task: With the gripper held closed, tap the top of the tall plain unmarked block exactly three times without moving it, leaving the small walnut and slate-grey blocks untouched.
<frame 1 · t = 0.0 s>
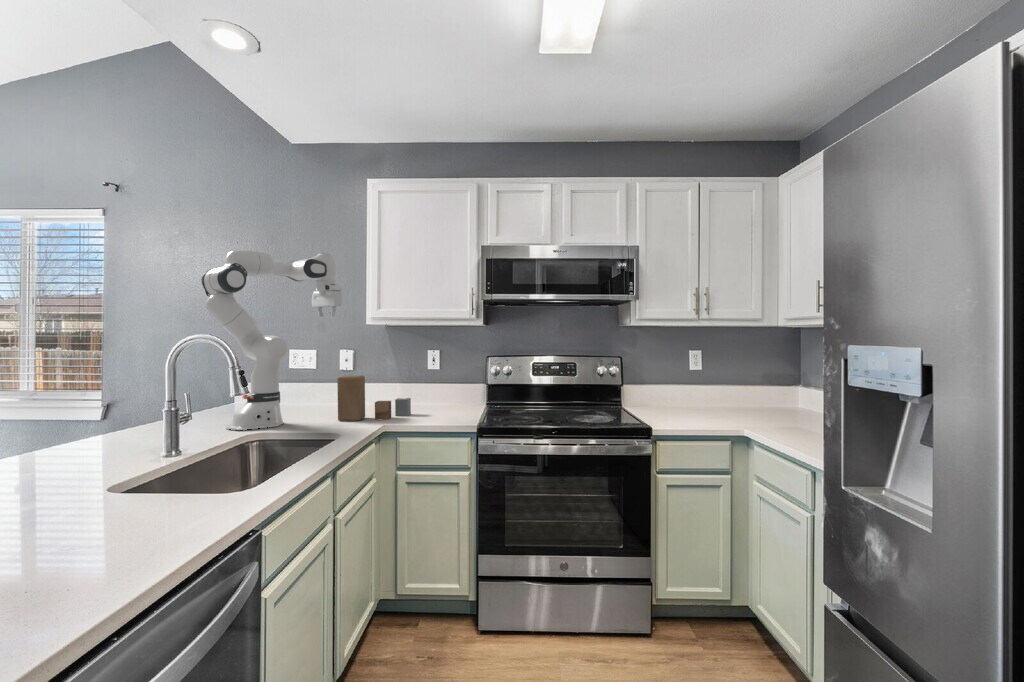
hand: (326, 316, 250), 48 cm above the worktop, fingers open, 8 cm apart
block: (351, 419, 238), on the worktop
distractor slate: (403, 415, 250), on the worktop
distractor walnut: (383, 418, 240), on the worktop
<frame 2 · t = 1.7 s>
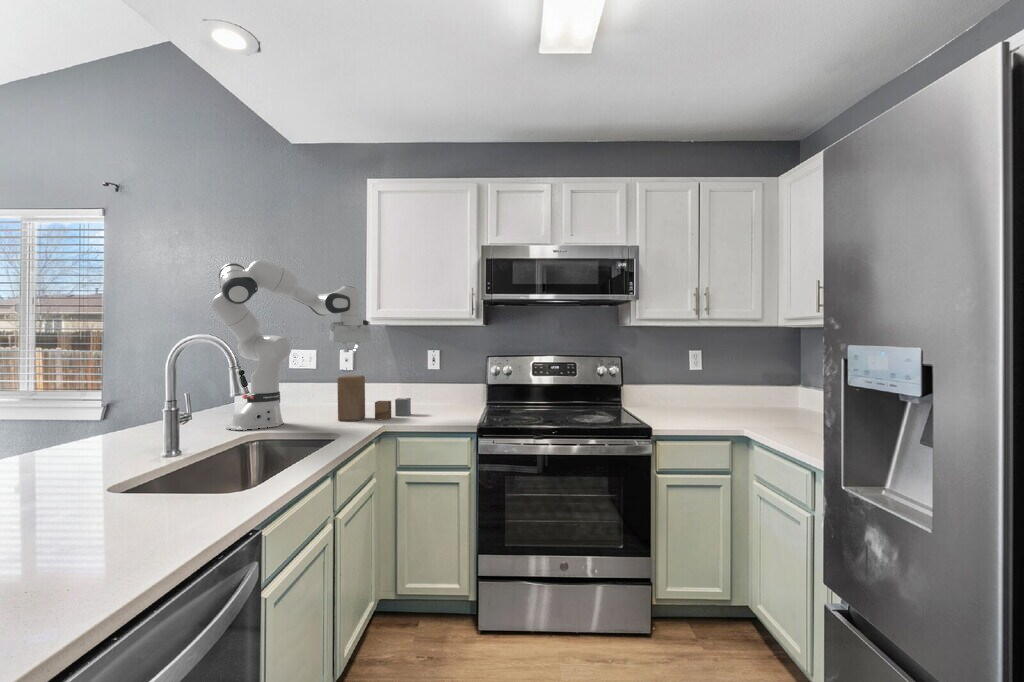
hand: (350, 352, 238), 31 cm above the worktop, fingers open, 3 cm apart
nothing on the worktop moved.
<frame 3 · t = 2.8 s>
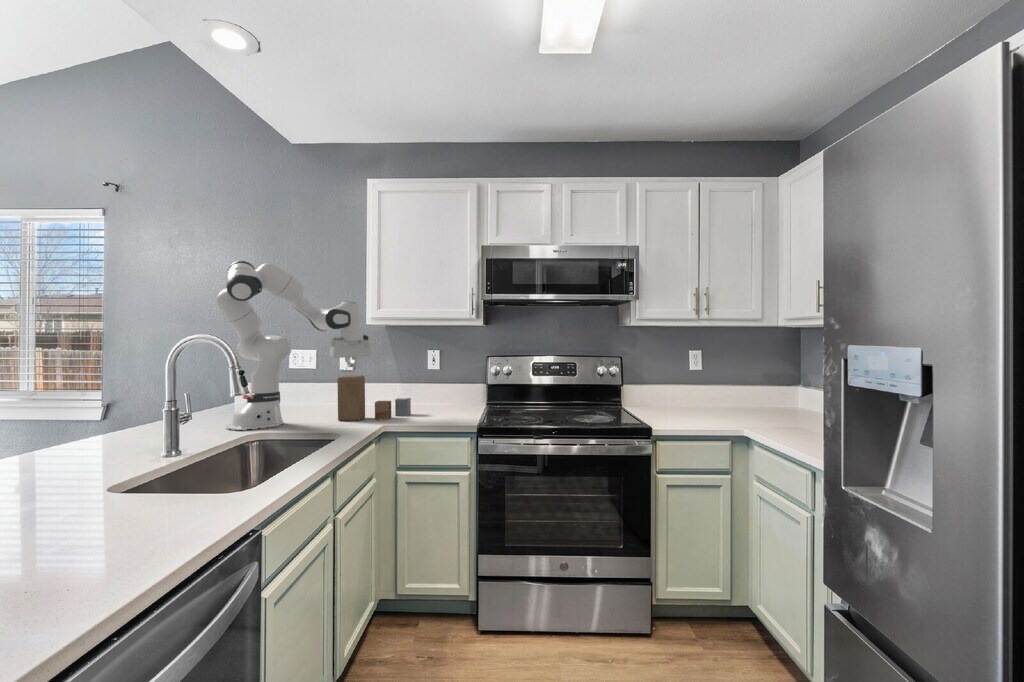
hand: (351, 367, 238), 24 cm above the worktop, fingers closed
nothing on the worktop moved.
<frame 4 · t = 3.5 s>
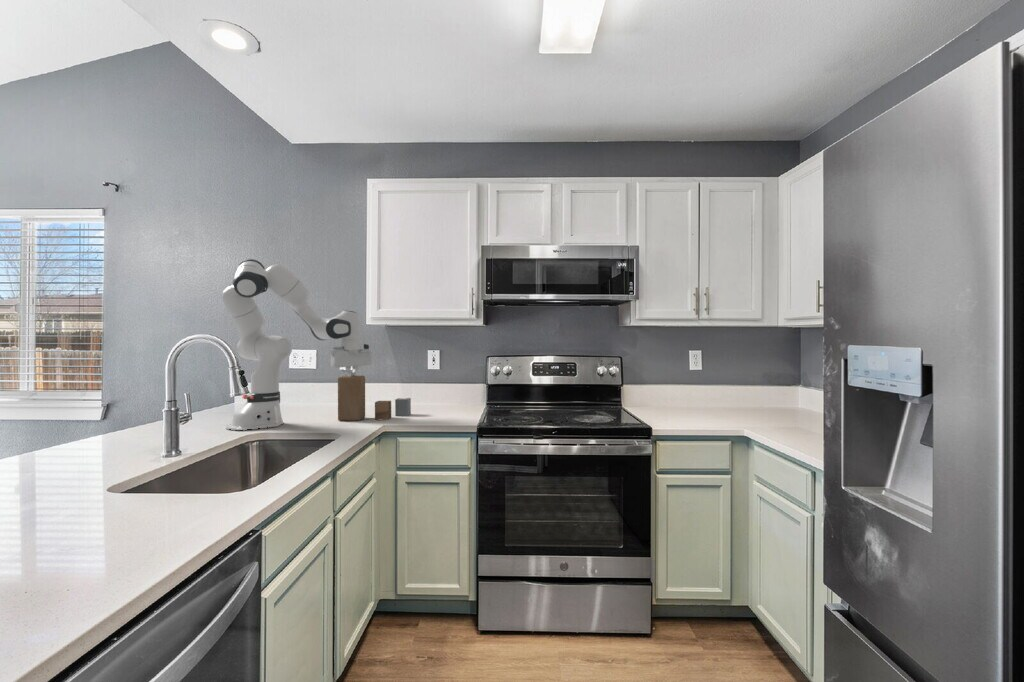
hand: (351, 376, 238), 20 cm above the worktop, fingers closed, pressing on block
block: (351, 419, 238), on the worktop, touching gripper
everything else where it was.
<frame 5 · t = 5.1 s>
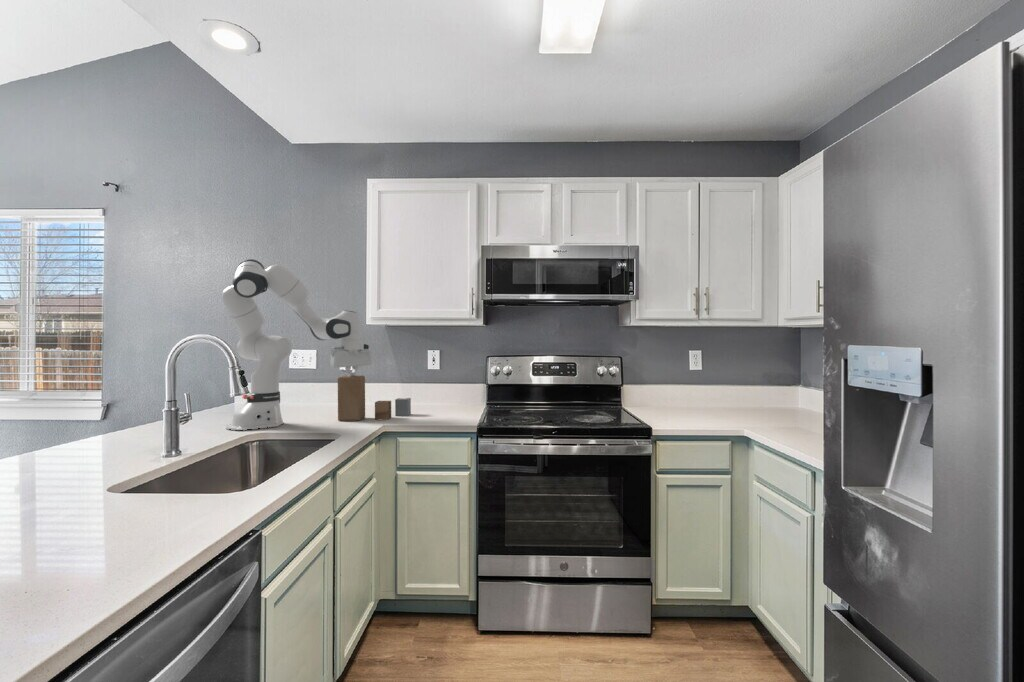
hand: (351, 376, 238), 20 cm above the worktop, fingers closed, pressing on block
block: (351, 419, 238), on the worktop, touching gripper
everything else where it was.
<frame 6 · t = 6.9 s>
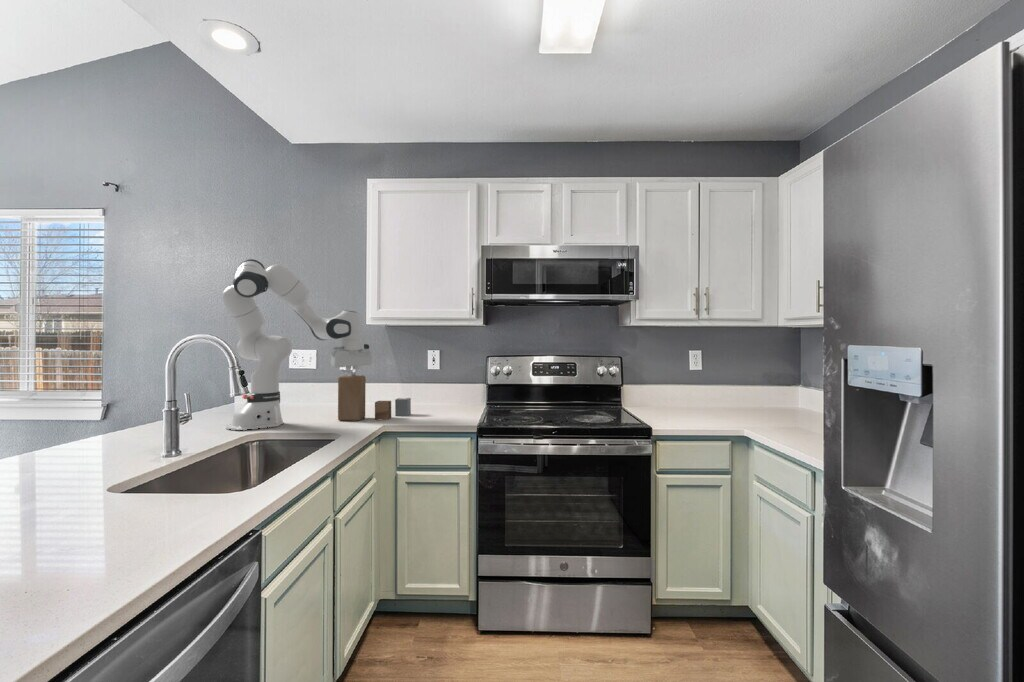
hand: (352, 376, 238), 20 cm above the worktop, fingers closed, pressing on block
block: (351, 419, 238), on the worktop, touching gripper
everything else where it was.
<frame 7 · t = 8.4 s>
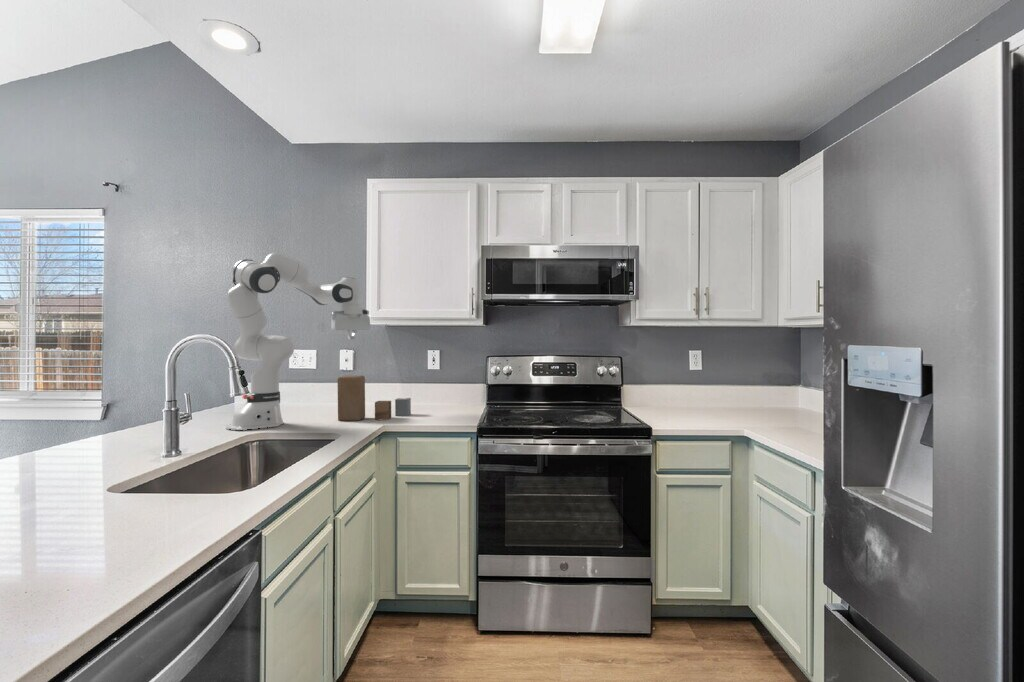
hand: (351, 339, 252), 37 cm above the worktop, fingers closed
block: (351, 419, 238), on the worktop
everything else where it was.
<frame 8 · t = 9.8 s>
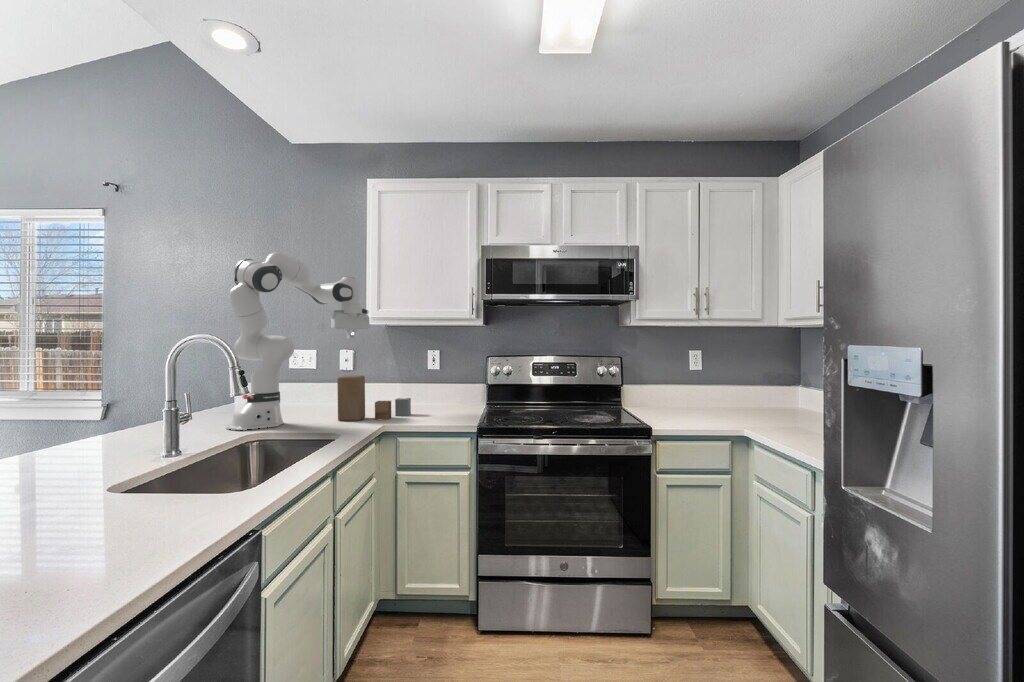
hand: (350, 338, 254), 37 cm above the worktop, fingers closed
nothing on the worktop moved.
at the end: block moved 0.2 cm from its start; block tilted 0°; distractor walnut moved 0.1 cm from its start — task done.
